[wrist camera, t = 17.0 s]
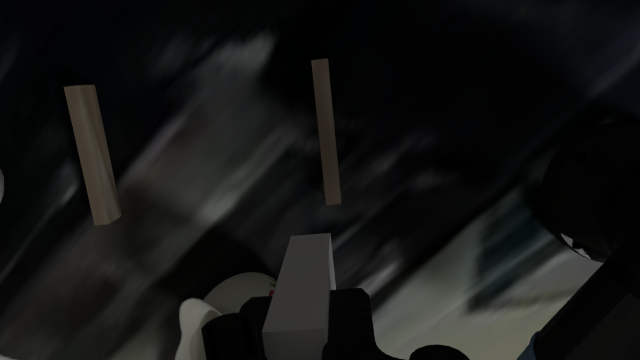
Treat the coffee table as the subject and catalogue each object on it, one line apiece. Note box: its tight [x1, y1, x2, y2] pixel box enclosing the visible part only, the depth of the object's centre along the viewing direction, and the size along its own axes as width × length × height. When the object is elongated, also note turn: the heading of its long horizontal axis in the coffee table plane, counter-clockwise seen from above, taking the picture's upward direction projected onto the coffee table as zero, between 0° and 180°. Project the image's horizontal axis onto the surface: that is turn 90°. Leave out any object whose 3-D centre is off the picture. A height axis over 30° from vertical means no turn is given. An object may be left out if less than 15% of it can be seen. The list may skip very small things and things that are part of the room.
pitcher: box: [175, 272, 277, 360], centre depth 47 cm, size 11×18×14 cm, turn 25°
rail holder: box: [64, 59, 341, 225], centre depth 48 cm, size 27×15×3 cm, turn 96°
